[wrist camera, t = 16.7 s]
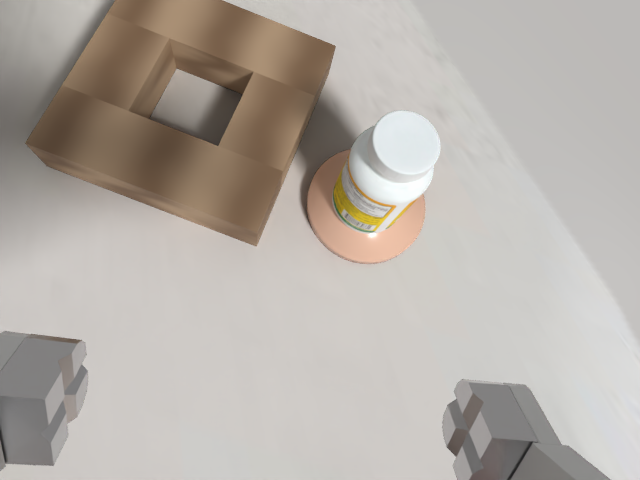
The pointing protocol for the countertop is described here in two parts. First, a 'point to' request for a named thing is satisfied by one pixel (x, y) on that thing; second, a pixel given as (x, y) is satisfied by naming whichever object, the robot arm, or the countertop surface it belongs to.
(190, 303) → the countertop surface
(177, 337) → the countertop surface
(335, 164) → the peach round disc
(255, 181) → the frame
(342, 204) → the supplement bottle
